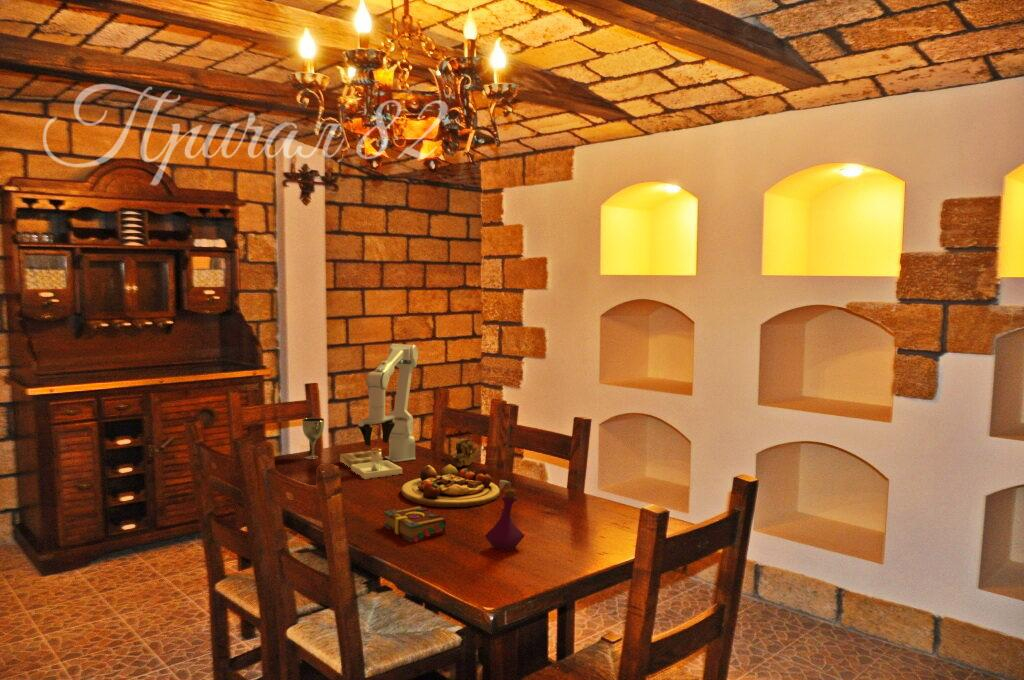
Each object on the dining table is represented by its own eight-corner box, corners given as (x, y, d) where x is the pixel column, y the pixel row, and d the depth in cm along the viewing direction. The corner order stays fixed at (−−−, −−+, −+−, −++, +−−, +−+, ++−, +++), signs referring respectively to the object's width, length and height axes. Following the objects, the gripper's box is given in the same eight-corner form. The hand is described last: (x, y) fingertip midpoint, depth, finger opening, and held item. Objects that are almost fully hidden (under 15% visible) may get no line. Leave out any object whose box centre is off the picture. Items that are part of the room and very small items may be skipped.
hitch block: (370, 458, 280) (370, 450, 280) (383, 465, 270) (383, 457, 270) (340, 462, 274) (340, 454, 273) (352, 469, 264) (352, 461, 263)
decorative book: (418, 519, 212) (418, 503, 211) (448, 536, 199) (449, 518, 198) (383, 527, 205) (383, 509, 204) (412, 544, 192) (412, 526, 192)
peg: (377, 468, 263) (377, 447, 262) (383, 470, 260) (383, 448, 260) (369, 470, 260) (369, 448, 259) (375, 472, 258) (375, 450, 257)
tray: (387, 466, 269) (387, 460, 269) (402, 474, 259) (402, 468, 258) (350, 470, 262) (350, 464, 262) (364, 479, 251) (364, 473, 251)
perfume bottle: (502, 540, 196) (504, 474, 194) (524, 547, 191) (526, 480, 189) (484, 548, 190) (485, 480, 188) (506, 555, 185) (508, 485, 184)
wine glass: (328, 458, 279) (328, 419, 278) (312, 462, 272) (312, 422, 271) (313, 454, 283) (313, 416, 282) (297, 458, 277) (297, 419, 275)
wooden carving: (463, 471, 265) (463, 444, 264) (451, 470, 266) (451, 443, 265) (478, 461, 280) (479, 435, 280) (467, 459, 282) (468, 434, 281)
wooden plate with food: (452, 516, 215) (453, 489, 215) (380, 493, 235) (381, 468, 235) (519, 495, 240) (520, 471, 239) (449, 476, 260) (450, 453, 259)
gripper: (386, 402, 266) (386, 438, 267) (353, 406, 256) (352, 444, 257) (398, 404, 261) (398, 442, 263) (364, 409, 251) (364, 448, 252)
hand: (376, 443), depth 259 cm, fingers open, 7 cm apart
